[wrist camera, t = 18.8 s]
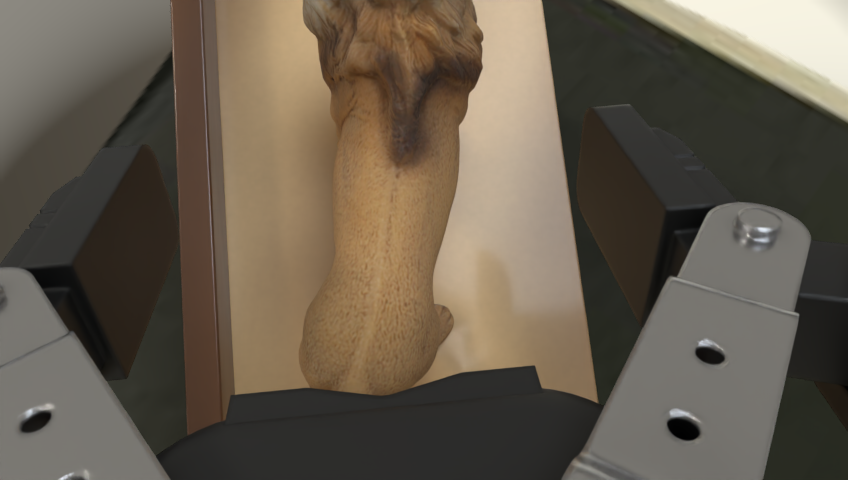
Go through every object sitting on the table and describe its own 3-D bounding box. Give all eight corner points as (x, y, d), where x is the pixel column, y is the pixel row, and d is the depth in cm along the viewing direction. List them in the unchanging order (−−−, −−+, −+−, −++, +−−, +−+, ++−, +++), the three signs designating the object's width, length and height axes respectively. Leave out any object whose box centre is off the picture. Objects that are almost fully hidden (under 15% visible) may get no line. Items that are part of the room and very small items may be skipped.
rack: (489, 83, 34) (543, -87, 20) (532, 431, 31) (627, 498, 17) (263, 102, 33) (167, -60, 20) (285, 457, 30) (190, 548, 17)
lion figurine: (295, 28, 21) (214, -202, 12) (454, 20, 21) (488, -212, 12) (314, 489, 19) (231, 621, 10) (492, 475, 19) (569, 592, 10)
